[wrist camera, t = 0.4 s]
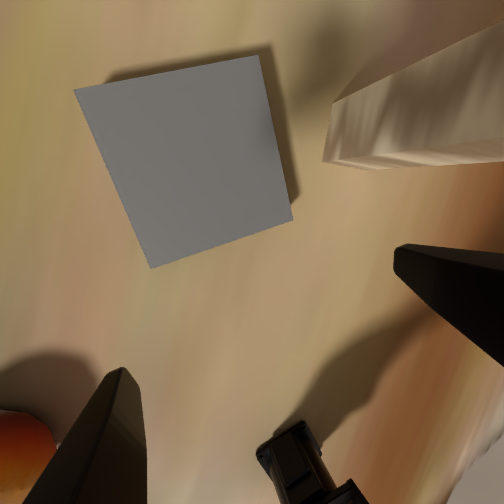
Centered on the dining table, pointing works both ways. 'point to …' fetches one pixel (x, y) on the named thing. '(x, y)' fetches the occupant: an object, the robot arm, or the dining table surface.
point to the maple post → (427, 111)
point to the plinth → (191, 155)
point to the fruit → (22, 454)
